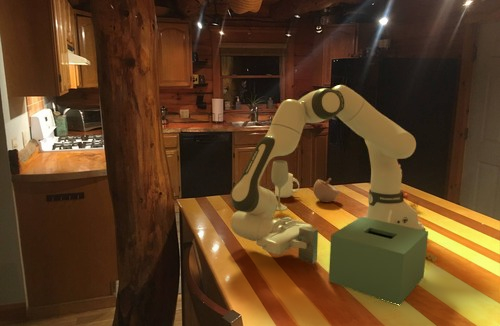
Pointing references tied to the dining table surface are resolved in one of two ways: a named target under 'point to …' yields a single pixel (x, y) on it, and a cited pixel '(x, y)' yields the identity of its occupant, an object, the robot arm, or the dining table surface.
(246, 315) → the dining table surface
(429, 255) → the dice set
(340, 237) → the coin box
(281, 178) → the wineglass
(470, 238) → the dining table surface
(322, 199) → the mortar and pestle
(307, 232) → the brown upright bar
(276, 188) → the mug
